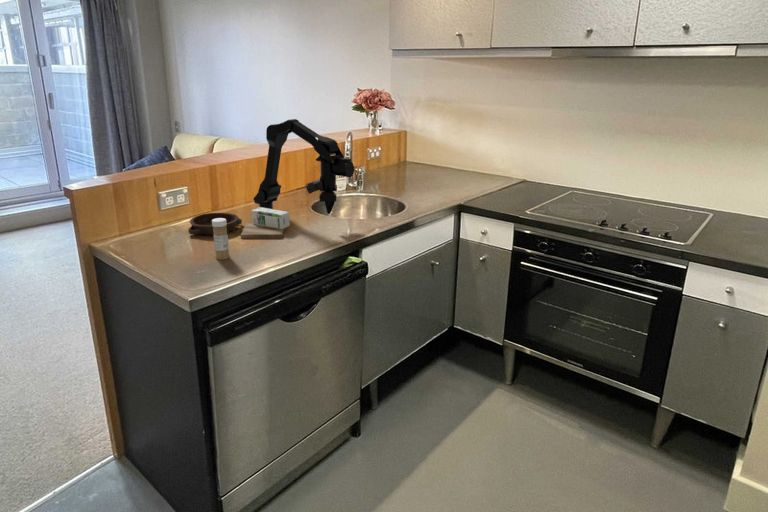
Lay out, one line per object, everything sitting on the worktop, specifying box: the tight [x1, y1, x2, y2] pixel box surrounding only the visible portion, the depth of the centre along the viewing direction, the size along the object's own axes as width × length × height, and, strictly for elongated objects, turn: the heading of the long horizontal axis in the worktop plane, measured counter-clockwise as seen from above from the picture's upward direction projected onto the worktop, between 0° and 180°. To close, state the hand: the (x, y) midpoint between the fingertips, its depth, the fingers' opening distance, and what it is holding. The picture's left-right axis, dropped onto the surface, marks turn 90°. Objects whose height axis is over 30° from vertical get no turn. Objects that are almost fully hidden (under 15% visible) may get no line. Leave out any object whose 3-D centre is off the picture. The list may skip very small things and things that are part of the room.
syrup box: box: [250, 206, 291, 229], centre depth 206 cm, size 6×6×14 cm
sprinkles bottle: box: [212, 218, 230, 261], centre depth 174 cm, size 5×5×13 cm
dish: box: [187, 212, 243, 236], centre depth 203 cm, size 18×22×5 cm
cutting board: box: [240, 221, 286, 239], centre depth 203 cm, size 16×15×2 cm
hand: (328, 213), depth 204 cm, fingers closed
